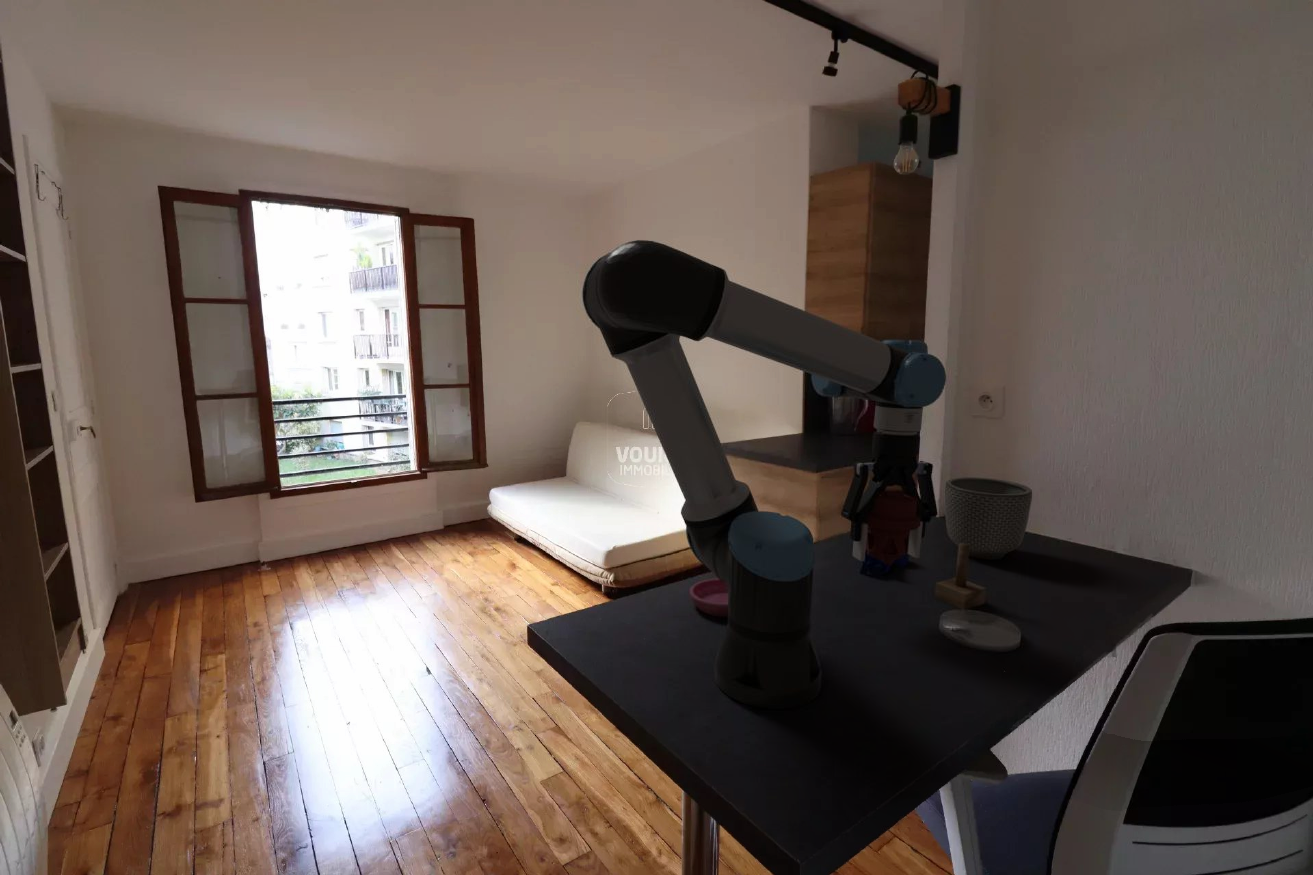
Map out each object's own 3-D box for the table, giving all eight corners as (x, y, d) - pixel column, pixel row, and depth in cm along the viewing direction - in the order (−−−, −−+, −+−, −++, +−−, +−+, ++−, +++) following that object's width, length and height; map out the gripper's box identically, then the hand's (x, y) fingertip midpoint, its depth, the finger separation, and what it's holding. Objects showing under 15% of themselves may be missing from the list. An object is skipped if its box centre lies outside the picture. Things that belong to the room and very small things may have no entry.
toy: (886, 584, 125) (914, 562, 135) (887, 555, 124) (916, 535, 134) (854, 575, 129) (884, 554, 140) (855, 547, 128) (885, 528, 139)
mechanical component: (909, 552, 111) (922, 571, 102) (852, 546, 113) (859, 565, 104) (916, 486, 110) (929, 499, 100) (858, 482, 111) (865, 494, 102)
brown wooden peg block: (963, 609, 111) (968, 552, 109) (934, 597, 116) (939, 542, 115) (984, 603, 114) (989, 546, 112) (955, 591, 119) (960, 537, 117)
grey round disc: (973, 655, 95) (974, 646, 95) (923, 621, 107) (924, 613, 106) (1038, 646, 98) (1039, 638, 98) (982, 614, 109) (983, 606, 109)
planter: (1042, 567, 132) (1050, 495, 129) (962, 567, 132) (968, 495, 129) (999, 541, 149) (1005, 477, 146) (928, 541, 149) (932, 476, 146)
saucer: (680, 597, 117) (680, 581, 117) (739, 589, 121) (739, 574, 120) (704, 625, 105) (705, 608, 105) (769, 615, 109) (769, 599, 109)
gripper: (848, 435, 98) (838, 568, 101) (969, 434, 103) (956, 560, 106) (825, 428, 105) (816, 552, 109) (939, 428, 110) (928, 546, 114)
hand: (885, 556), depth 107 cm, fingers closed on mechanical component, 10 cm apart
